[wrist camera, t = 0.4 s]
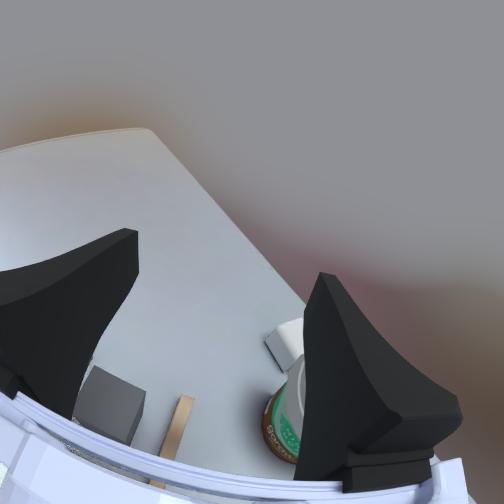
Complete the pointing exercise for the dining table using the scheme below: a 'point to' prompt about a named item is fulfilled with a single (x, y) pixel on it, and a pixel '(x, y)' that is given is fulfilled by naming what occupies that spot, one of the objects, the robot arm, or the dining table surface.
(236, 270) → the dining table surface
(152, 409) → the dining table surface
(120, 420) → the charcoal rectangular prism
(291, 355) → the usb wall charger
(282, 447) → the food container
